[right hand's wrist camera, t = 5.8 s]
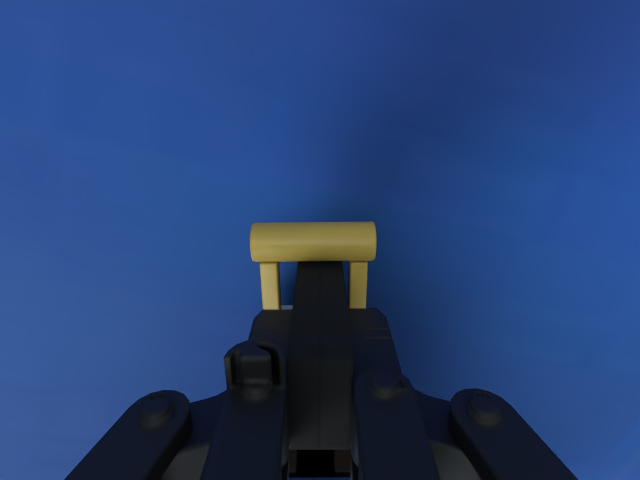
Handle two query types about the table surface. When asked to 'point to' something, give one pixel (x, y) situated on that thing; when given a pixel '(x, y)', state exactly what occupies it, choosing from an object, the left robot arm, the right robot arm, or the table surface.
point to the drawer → (292, 245)
